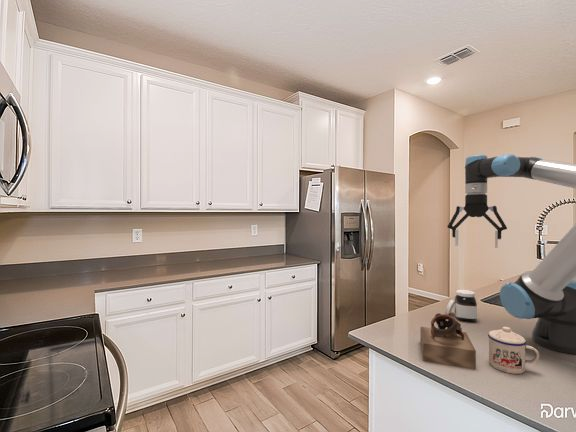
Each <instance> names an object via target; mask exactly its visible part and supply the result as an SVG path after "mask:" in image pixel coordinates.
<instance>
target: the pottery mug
mask: <svg viewBox="0 0 576 432" xmlns="http://www.w3.org/2000/svg"><path fill="white" fill-rule="evenodd" d="M435 323H436V325H437V327H436V326H435ZM461 325H462V324H461V323H460V322H459V320H456V319H455V318H454V317H453V316H451V315H450V314H449V315H448V314H446V313H445V314H442V313H436V314H435V315H434V317H433V318H432V320H431V322H430V326H431V327H430V328H431V335H432V337H433V338H434V337H442V338H446V337H450V336H457V334H459V335H460V336H461V337H462V338H463V339H464V333H463V332H464V331H463V329H462V327H461Z"/></svg>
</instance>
